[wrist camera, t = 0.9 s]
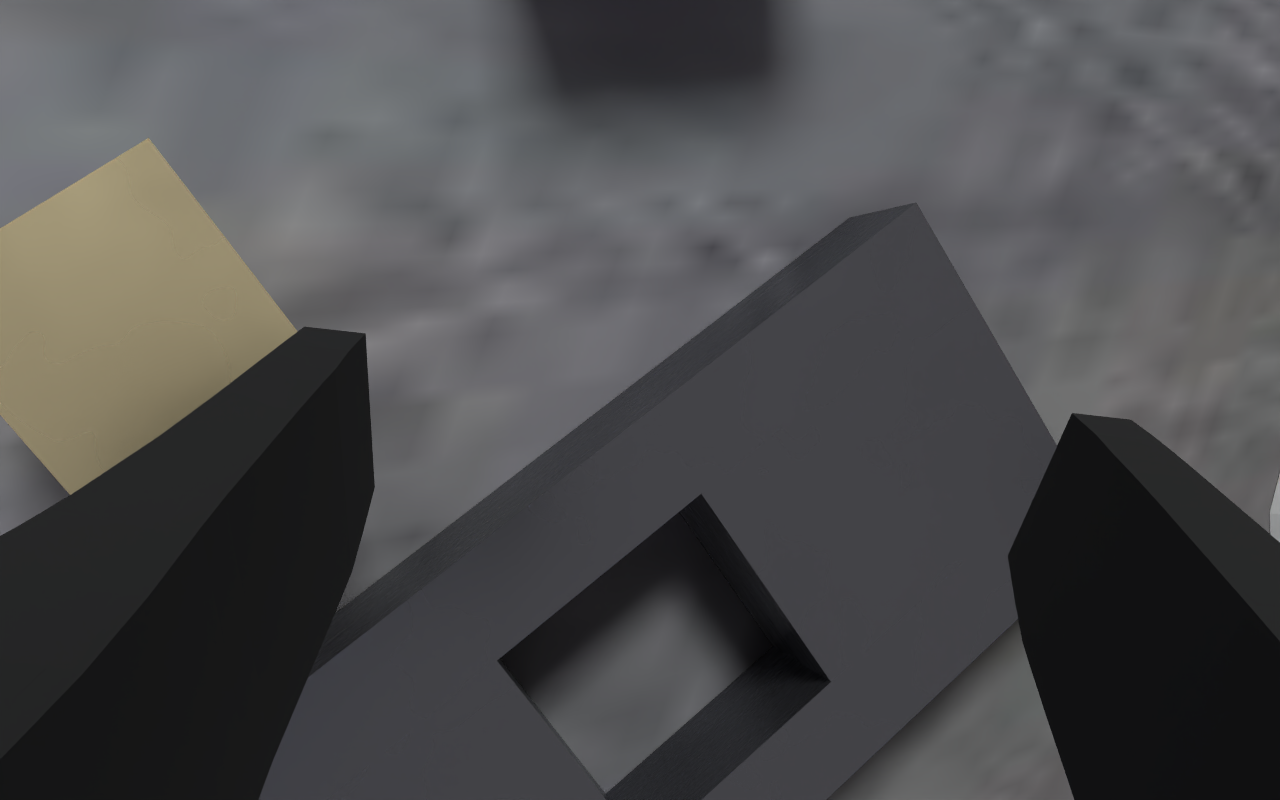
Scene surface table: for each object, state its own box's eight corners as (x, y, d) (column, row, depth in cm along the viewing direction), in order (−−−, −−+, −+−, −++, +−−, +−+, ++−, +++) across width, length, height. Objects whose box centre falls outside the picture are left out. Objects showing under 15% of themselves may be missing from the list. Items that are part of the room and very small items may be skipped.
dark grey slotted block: (385, 1102, 24) (398, 1203, 21) (96, 796, 22) (68, 863, 19) (1027, 515, 29) (1108, 533, 26) (849, 217, 27) (916, 202, 24)
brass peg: (149, 464, 22) (89, 517, 15) (18, 309, 21) (-106, 293, 14) (308, 354, 23) (317, 358, 16) (190, 200, 22) (148, 137, 15)
